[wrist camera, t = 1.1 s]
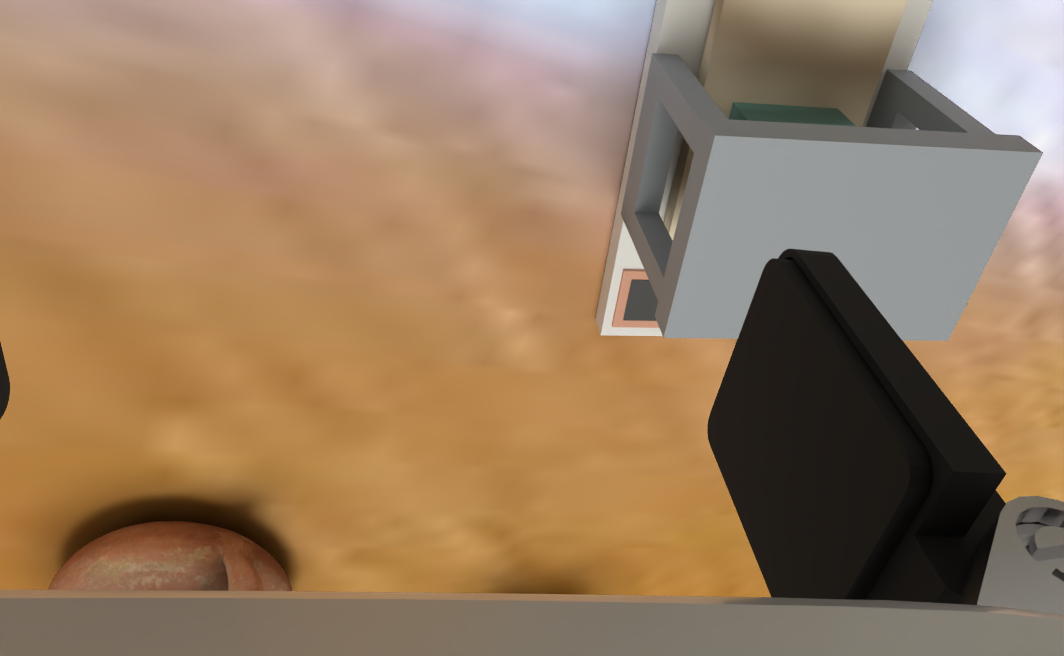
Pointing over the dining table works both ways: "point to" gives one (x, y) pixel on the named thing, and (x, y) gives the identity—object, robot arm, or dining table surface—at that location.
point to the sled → (792, 65)
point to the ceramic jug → (172, 561)
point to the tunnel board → (802, 196)
